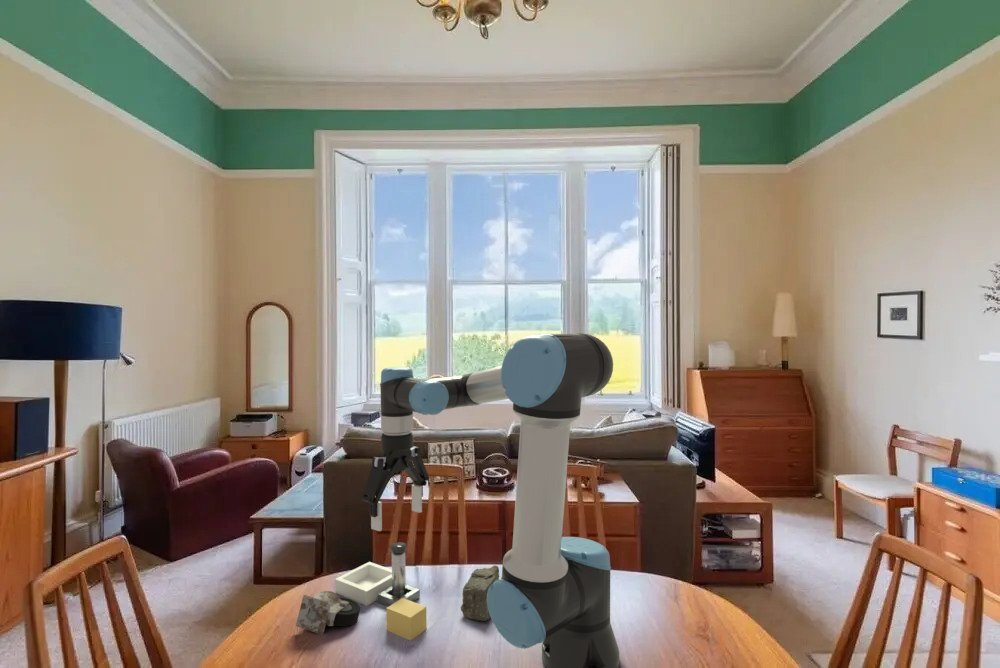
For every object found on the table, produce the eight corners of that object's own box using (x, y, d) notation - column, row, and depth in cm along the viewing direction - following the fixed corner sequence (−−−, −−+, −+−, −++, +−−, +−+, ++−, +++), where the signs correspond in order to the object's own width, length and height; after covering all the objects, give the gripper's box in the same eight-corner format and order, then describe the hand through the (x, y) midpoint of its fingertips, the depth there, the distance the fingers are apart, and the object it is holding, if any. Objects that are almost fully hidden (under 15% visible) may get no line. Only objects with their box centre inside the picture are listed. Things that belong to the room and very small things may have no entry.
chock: (426, 629, 115) (426, 606, 115) (410, 641, 110) (410, 617, 110) (402, 619, 118) (402, 597, 118) (386, 630, 114) (386, 608, 114)
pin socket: (419, 597, 128) (419, 589, 128) (399, 611, 122) (399, 602, 122) (398, 589, 131) (398, 581, 131) (377, 602, 126) (377, 594, 126)
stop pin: (410, 598, 127) (409, 544, 127) (399, 605, 124) (398, 550, 124) (398, 594, 129) (398, 541, 129) (387, 601, 126) (386, 546, 126)
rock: (458, 569, 132) (497, 558, 133) (466, 595, 132) (504, 584, 133) (455, 603, 115) (499, 590, 116) (464, 633, 115) (508, 620, 116)
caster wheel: (361, 624, 121) (340, 644, 111) (318, 609, 123) (294, 626, 113) (368, 595, 121) (348, 612, 112) (325, 580, 124) (302, 595, 114)
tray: (400, 586, 133) (400, 572, 133) (366, 606, 124) (366, 591, 124) (369, 574, 139) (369, 561, 139) (335, 593, 130) (335, 579, 130)
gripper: (420, 421, 138) (420, 502, 139) (345, 440, 117) (345, 534, 118) (442, 425, 134) (442, 507, 135) (368, 444, 113) (369, 542, 114)
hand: (397, 520), depth 126 cm, fingers open, 13 cm apart
